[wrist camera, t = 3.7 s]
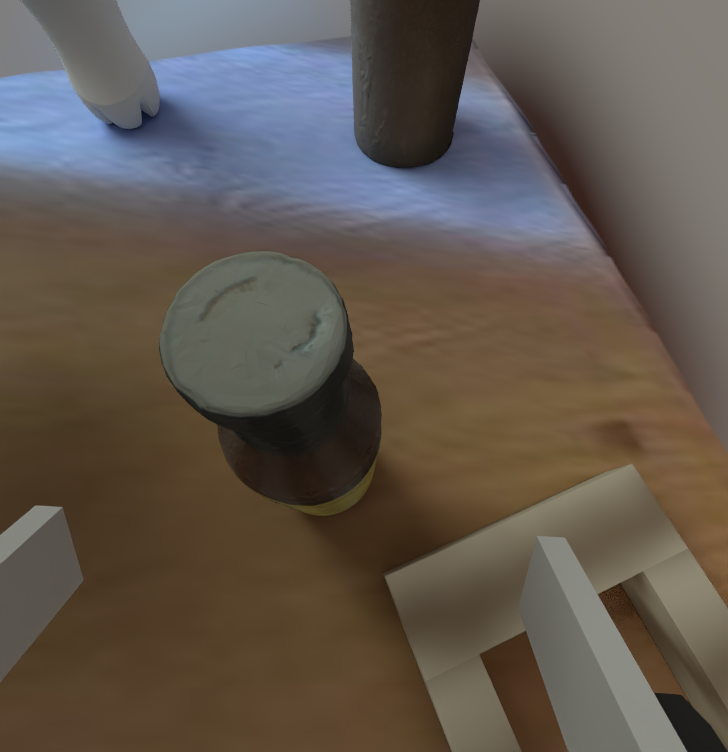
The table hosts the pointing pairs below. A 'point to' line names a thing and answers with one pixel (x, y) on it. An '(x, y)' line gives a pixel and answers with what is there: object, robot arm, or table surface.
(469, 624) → the birch stand
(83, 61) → the water bottle
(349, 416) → the sauce bottle
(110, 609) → the table surface
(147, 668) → the table surface
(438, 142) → the pillar candle
